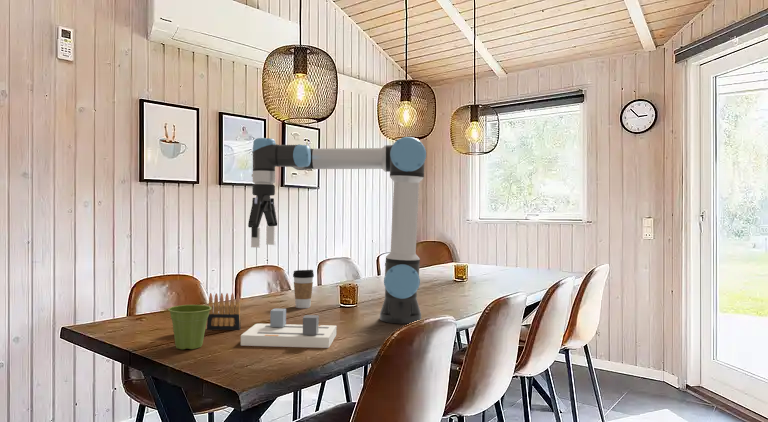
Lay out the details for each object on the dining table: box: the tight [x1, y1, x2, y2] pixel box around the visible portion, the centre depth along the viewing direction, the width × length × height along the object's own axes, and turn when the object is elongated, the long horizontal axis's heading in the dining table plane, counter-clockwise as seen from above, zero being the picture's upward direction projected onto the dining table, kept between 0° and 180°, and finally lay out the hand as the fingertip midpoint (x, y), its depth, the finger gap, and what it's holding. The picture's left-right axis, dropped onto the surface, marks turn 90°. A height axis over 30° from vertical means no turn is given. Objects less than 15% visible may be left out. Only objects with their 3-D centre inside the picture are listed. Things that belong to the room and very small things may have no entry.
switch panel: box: [240, 323, 337, 349], centre depth 167 cm, size 26×16×3 cm, turn 87°
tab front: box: [302, 314, 320, 335], centre depth 162 cm, size 4×4×5 cm
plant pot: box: [168, 304, 212, 350], centre depth 157 cm, size 12×12×11 cm
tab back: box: [269, 308, 287, 327], centre depth 172 cm, size 4×4×5 cm
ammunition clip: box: [206, 292, 242, 331], centre depth 180 cm, size 11×2×12 cm, turn 93°
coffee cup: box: [292, 269, 315, 309], centre depth 221 cm, size 8×8×15 cm
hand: (263, 246), depth 187 cm, fingers open, 13 cm apart
